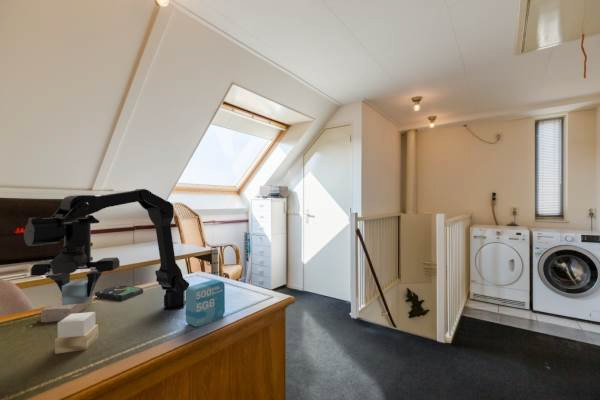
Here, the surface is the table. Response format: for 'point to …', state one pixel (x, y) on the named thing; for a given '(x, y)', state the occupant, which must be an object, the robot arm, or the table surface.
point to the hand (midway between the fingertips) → (77, 297)
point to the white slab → (76, 324)
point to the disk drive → (119, 292)
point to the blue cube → (75, 292)
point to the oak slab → (76, 342)
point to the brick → (61, 310)
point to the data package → (205, 302)
